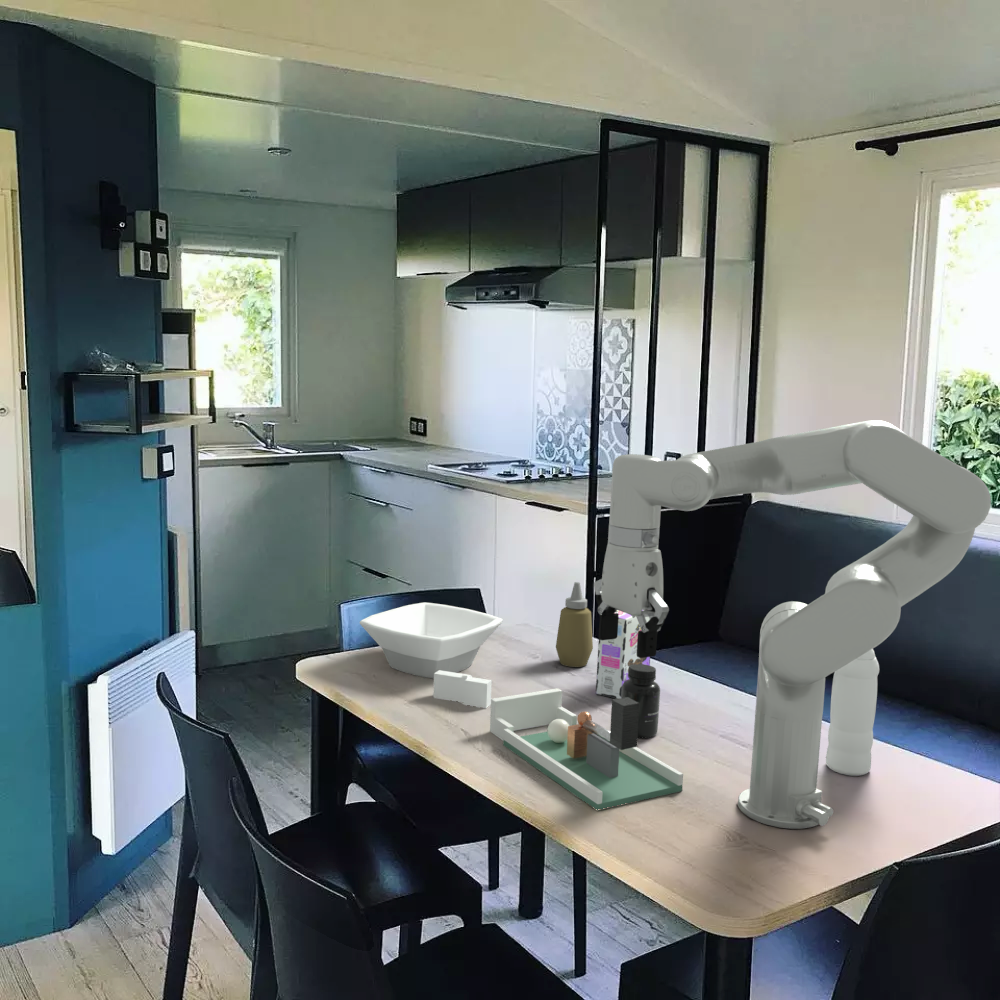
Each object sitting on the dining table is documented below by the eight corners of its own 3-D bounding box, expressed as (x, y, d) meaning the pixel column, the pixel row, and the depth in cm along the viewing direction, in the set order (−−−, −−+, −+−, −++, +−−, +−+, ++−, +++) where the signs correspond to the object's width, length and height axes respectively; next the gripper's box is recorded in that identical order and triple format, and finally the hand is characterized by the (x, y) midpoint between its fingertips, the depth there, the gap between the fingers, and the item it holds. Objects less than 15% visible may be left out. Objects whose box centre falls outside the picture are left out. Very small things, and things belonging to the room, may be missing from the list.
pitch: (682, 790, 159) (684, 754, 158) (597, 810, 151) (599, 772, 150) (561, 719, 189) (562, 687, 188) (484, 732, 181) (485, 699, 180)
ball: (574, 744, 174) (576, 721, 173) (555, 748, 172) (556, 725, 171) (562, 736, 177) (563, 714, 177) (542, 739, 175) (543, 717, 175)
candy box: (621, 700, 200) (625, 618, 197) (594, 694, 203) (598, 613, 200) (650, 682, 211) (654, 605, 209) (624, 677, 214) (628, 600, 212)
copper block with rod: (640, 779, 159) (644, 702, 157) (614, 784, 156) (618, 706, 155) (591, 748, 170) (594, 676, 169) (566, 753, 168) (569, 680, 166)
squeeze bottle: (593, 670, 218) (597, 587, 216) (555, 668, 218) (559, 586, 216) (590, 659, 226) (594, 579, 224) (554, 657, 226) (557, 578, 224)
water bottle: (816, 763, 172) (828, 618, 168) (849, 758, 174) (861, 615, 171) (845, 779, 165) (858, 629, 162) (879, 774, 168) (893, 626, 164)
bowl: (348, 668, 214) (348, 621, 213) (423, 643, 235) (424, 599, 233) (439, 693, 201) (440, 642, 199) (511, 664, 221) (512, 617, 220)
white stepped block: (418, 697, 199) (419, 668, 198) (469, 689, 205) (470, 661, 204) (455, 722, 187) (455, 691, 186) (508, 712, 192) (509, 683, 192)
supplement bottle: (656, 741, 179) (660, 675, 177) (617, 737, 180) (620, 671, 179) (658, 727, 186) (662, 663, 184) (620, 723, 187) (624, 660, 185)
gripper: (690, 546, 148) (682, 661, 151) (619, 526, 163) (613, 630, 165) (649, 549, 144) (641, 666, 147) (580, 528, 159) (574, 635, 162)
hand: (626, 647), depth 156 cm, fingers open, 9 cm apart
